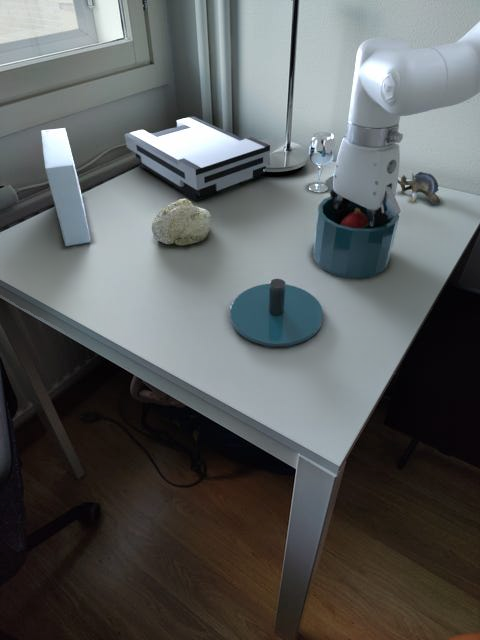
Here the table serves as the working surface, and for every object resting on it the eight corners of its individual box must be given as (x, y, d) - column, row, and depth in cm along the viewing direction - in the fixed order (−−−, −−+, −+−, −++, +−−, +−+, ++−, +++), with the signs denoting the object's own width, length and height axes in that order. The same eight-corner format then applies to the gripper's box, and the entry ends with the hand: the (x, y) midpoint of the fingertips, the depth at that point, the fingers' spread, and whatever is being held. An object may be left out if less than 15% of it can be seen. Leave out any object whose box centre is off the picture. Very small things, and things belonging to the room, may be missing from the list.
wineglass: (313, 180, 111) (318, 129, 103) (335, 186, 108) (341, 134, 100) (301, 189, 107) (305, 137, 99) (323, 195, 105) (329, 142, 97)
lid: (341, 321, 73) (347, 287, 68) (271, 364, 66) (273, 329, 62) (279, 278, 81) (281, 246, 77) (212, 312, 75) (209, 279, 70)
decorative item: (182, 243, 83) (144, 207, 84) (177, 269, 91) (143, 236, 92) (228, 210, 88) (191, 178, 90) (219, 238, 96) (186, 207, 98)
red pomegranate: (370, 242, 86) (378, 203, 81) (366, 259, 82) (374, 219, 77) (339, 237, 87) (344, 198, 82) (333, 254, 83) (339, 214, 78)
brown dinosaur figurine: (392, 198, 101) (435, 201, 96) (399, 164, 100) (443, 165, 95) (401, 204, 107) (442, 207, 102) (408, 172, 106) (449, 174, 101)
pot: (403, 259, 85) (415, 212, 79) (353, 288, 79) (362, 240, 73) (347, 230, 93) (354, 186, 87) (298, 254, 87) (302, 208, 81)
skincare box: (94, 242, 91) (73, 164, 81) (65, 248, 90) (41, 169, 80) (83, 196, 106) (64, 126, 96) (58, 201, 105) (37, 129, 94)
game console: (194, 141, 131) (192, 111, 125) (269, 179, 112) (270, 145, 106) (129, 161, 121) (123, 129, 116) (198, 205, 102) (195, 169, 97)
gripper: (434, 142, 67) (407, 247, 79) (345, 113, 78) (333, 210, 90) (402, 155, 64) (379, 263, 76) (313, 123, 74) (305, 223, 86)
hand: (354, 233), depth 83 cm, fingers closed on red pomegranate, 5 cm apart
